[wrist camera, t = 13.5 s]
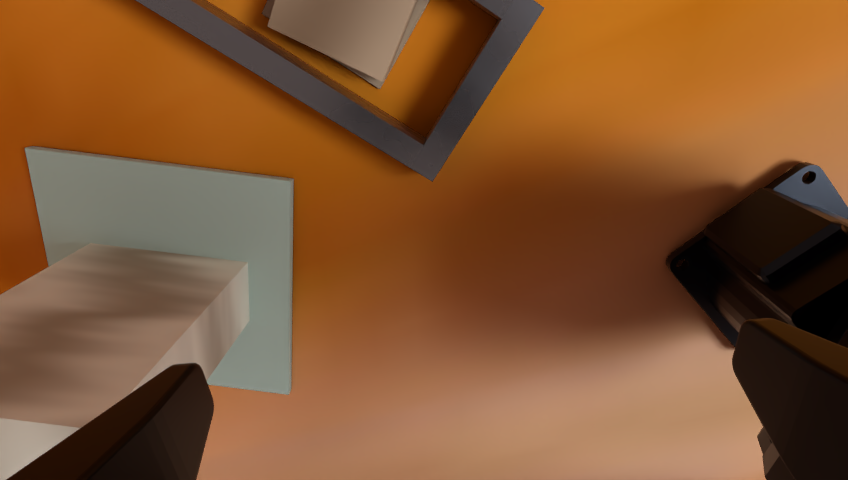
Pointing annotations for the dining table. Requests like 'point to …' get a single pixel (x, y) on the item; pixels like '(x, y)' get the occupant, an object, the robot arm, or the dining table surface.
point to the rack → (281, 68)
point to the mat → (183, 236)
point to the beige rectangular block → (106, 336)
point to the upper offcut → (347, 29)
